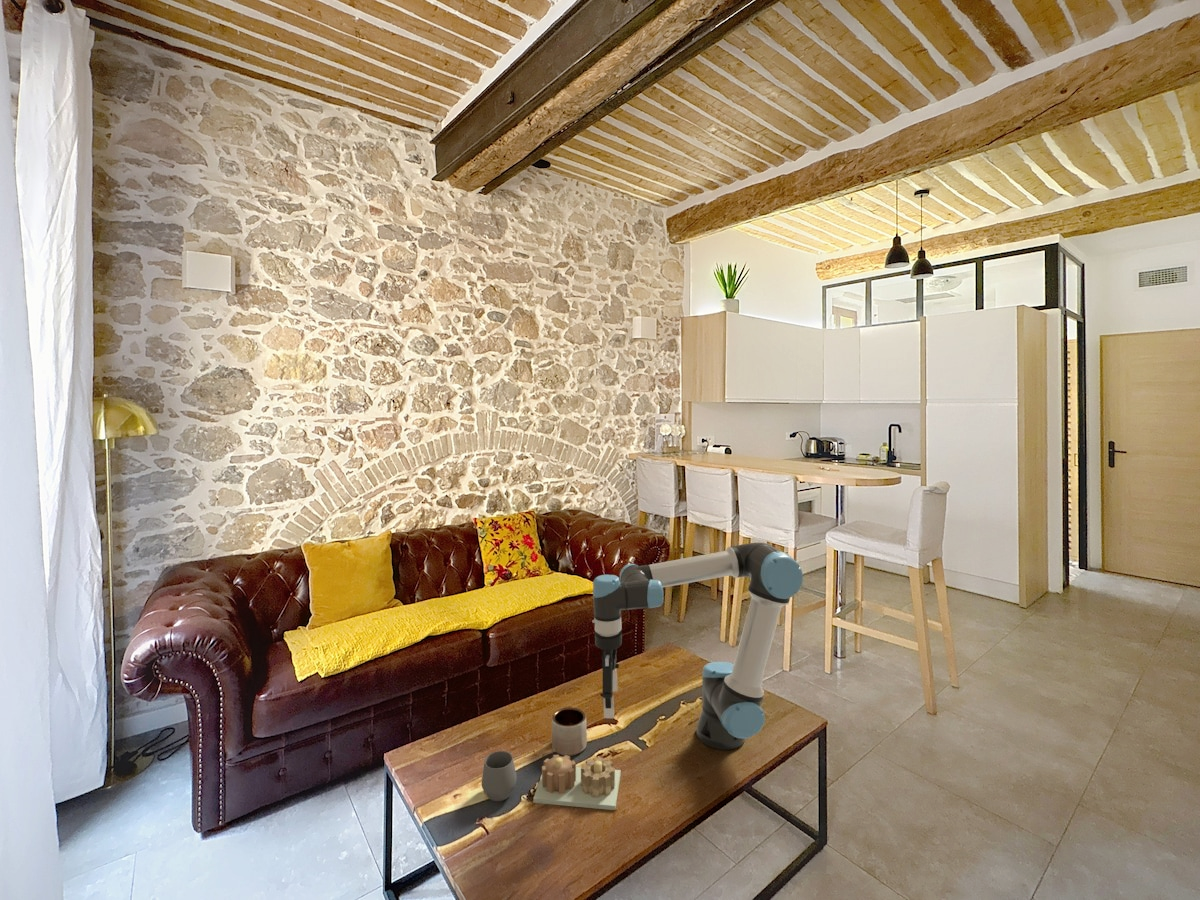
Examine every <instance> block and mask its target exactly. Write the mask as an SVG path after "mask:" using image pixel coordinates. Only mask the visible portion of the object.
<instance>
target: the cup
mask: <svg viewBox="0 0 1200 900" xmlns="http://www.w3.org/2000/svg"><path fill="white" fill-rule="evenodd" d="M516 784H517V772H516V766H515V761H514V757H513V755H512V754H511V753H510V752H508V751H505V750H497V751H494V752H491V753H489V754H488V755H487V756H486V757H485V758H484V764H483V770H482V776H481V788H482V790H483V792H484V794H485V795H486V796H487V798H488V799H489V800H490V801H493V802H502V801H504V800H507V799H508V798H509V797H510V796H511V795H512V793H513V791H514V788H515V787H516Z"/></svg>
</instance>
